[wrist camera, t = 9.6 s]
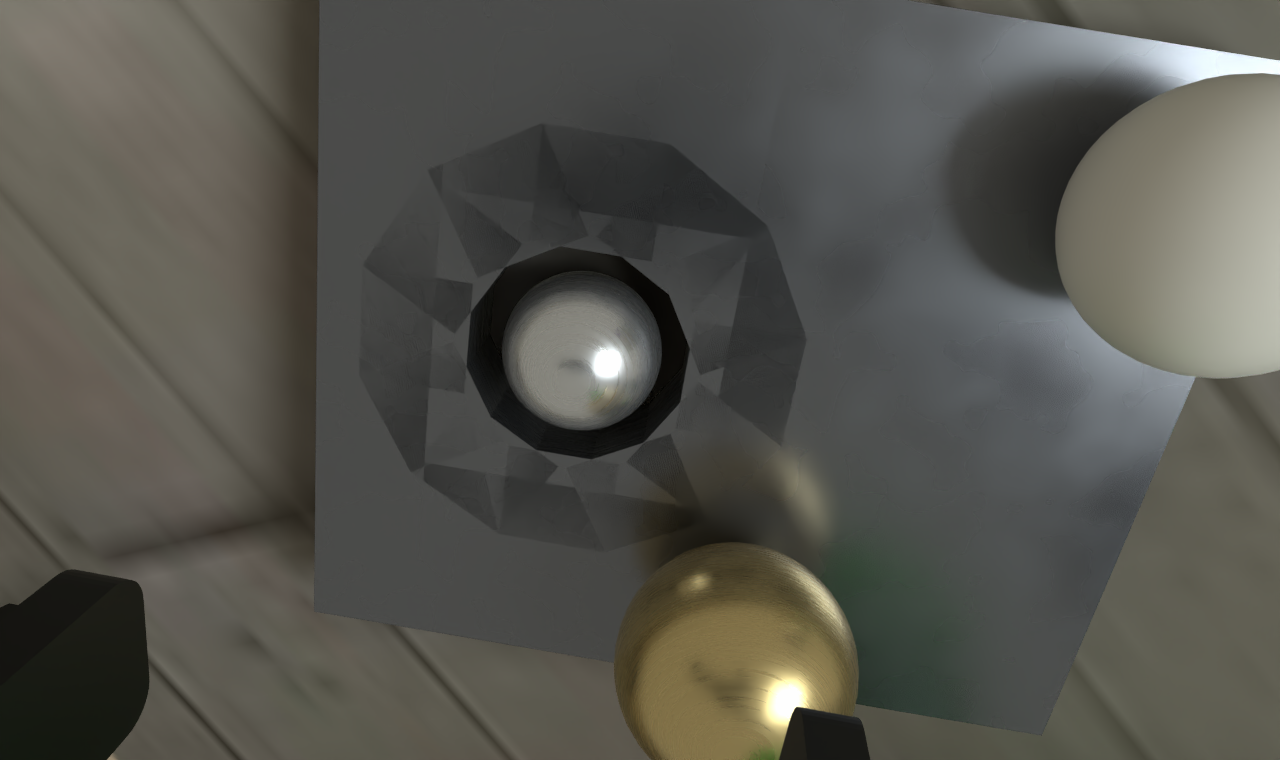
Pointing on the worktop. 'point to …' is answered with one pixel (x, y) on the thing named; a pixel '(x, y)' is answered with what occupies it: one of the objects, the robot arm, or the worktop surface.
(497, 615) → the plate
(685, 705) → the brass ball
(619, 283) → the steel ball
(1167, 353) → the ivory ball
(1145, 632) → the worktop surface
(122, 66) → the worktop surface
